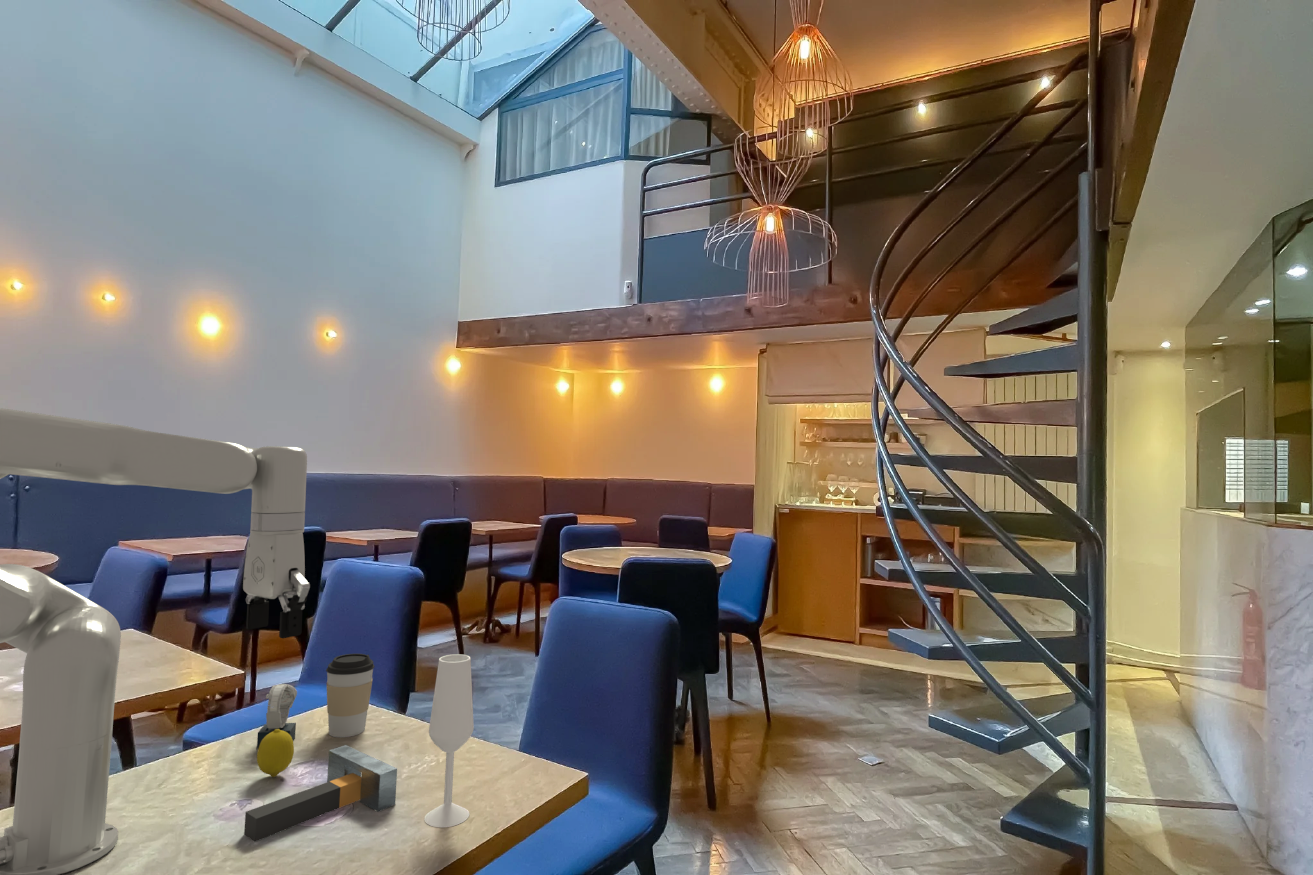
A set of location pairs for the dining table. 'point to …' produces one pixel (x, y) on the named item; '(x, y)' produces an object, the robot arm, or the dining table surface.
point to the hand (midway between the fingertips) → (273, 631)
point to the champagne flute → (451, 728)
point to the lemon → (275, 752)
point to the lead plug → (301, 807)
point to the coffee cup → (348, 694)
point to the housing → (365, 776)
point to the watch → (278, 711)
